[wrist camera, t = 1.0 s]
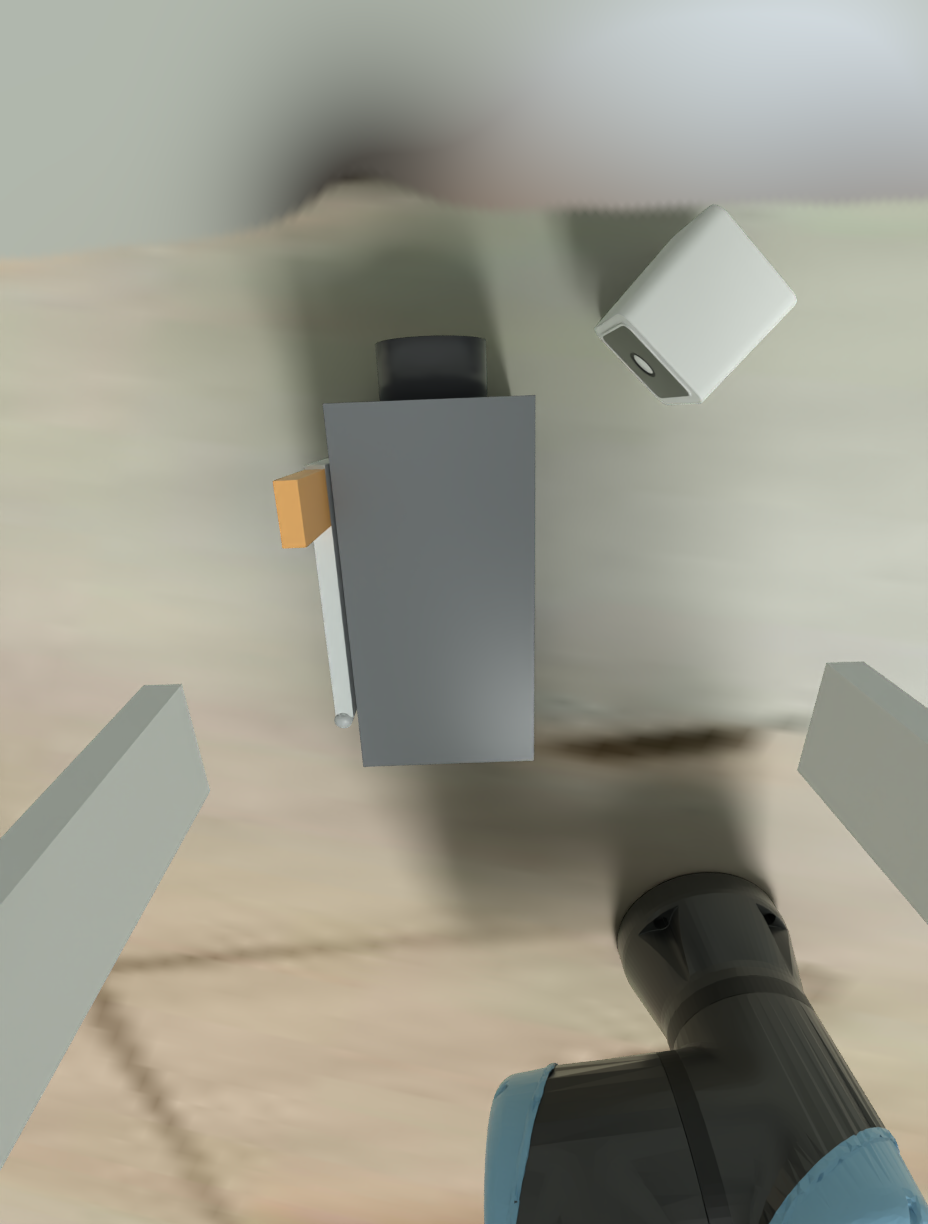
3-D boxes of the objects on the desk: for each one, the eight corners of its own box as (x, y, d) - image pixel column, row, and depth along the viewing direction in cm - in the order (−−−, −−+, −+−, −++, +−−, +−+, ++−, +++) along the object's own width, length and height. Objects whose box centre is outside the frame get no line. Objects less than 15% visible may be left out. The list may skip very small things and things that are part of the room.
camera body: (515, 672, 44) (534, 760, 33) (387, 677, 44) (363, 766, 33) (512, 352, 37) (535, 324, 26) (359, 358, 37) (314, 333, 26)
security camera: (578, 338, 37) (619, 312, 27) (658, 245, 35) (731, 182, 26) (644, 407, 38) (705, 404, 29) (724, 320, 36) (817, 287, 27)
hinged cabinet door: (380, 651, 43) (336, 780, 28) (366, 651, 43) (314, 781, 28) (361, 451, 38) (296, 474, 23) (345, 451, 38) (269, 476, 23)
